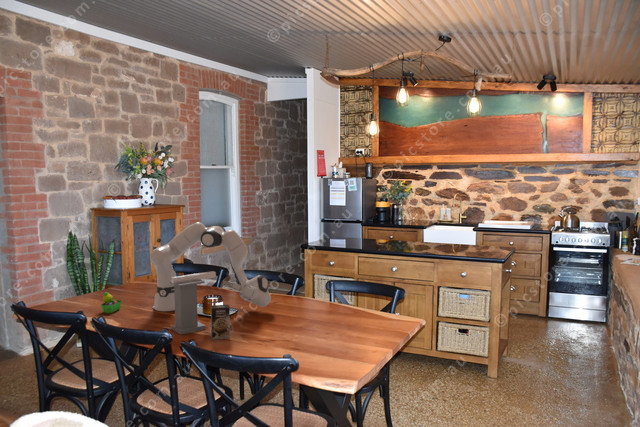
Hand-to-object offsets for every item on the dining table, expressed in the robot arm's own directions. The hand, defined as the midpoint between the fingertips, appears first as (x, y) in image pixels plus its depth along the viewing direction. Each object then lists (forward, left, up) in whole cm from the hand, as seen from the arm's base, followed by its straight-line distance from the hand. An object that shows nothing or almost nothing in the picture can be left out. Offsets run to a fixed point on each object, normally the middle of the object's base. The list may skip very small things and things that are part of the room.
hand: (228, 283), depth 280 cm
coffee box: (+28, +4, -21) cm, 36 cm away
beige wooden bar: (+15, -15, +5) cm, 21 cm away
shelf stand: (+17, -17, -21) cm, 32 cm away
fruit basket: (-12, -76, -21) cm, 80 cm away
